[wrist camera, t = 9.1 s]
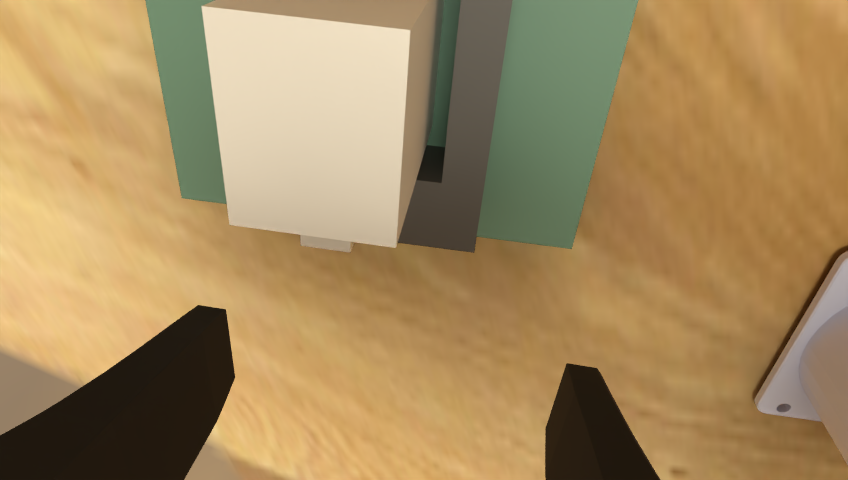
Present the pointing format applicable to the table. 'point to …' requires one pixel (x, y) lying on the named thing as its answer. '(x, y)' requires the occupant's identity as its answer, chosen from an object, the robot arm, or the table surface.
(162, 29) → the header board
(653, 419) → the table surface
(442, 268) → the table surface
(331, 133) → the keyed plug
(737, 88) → the table surface
